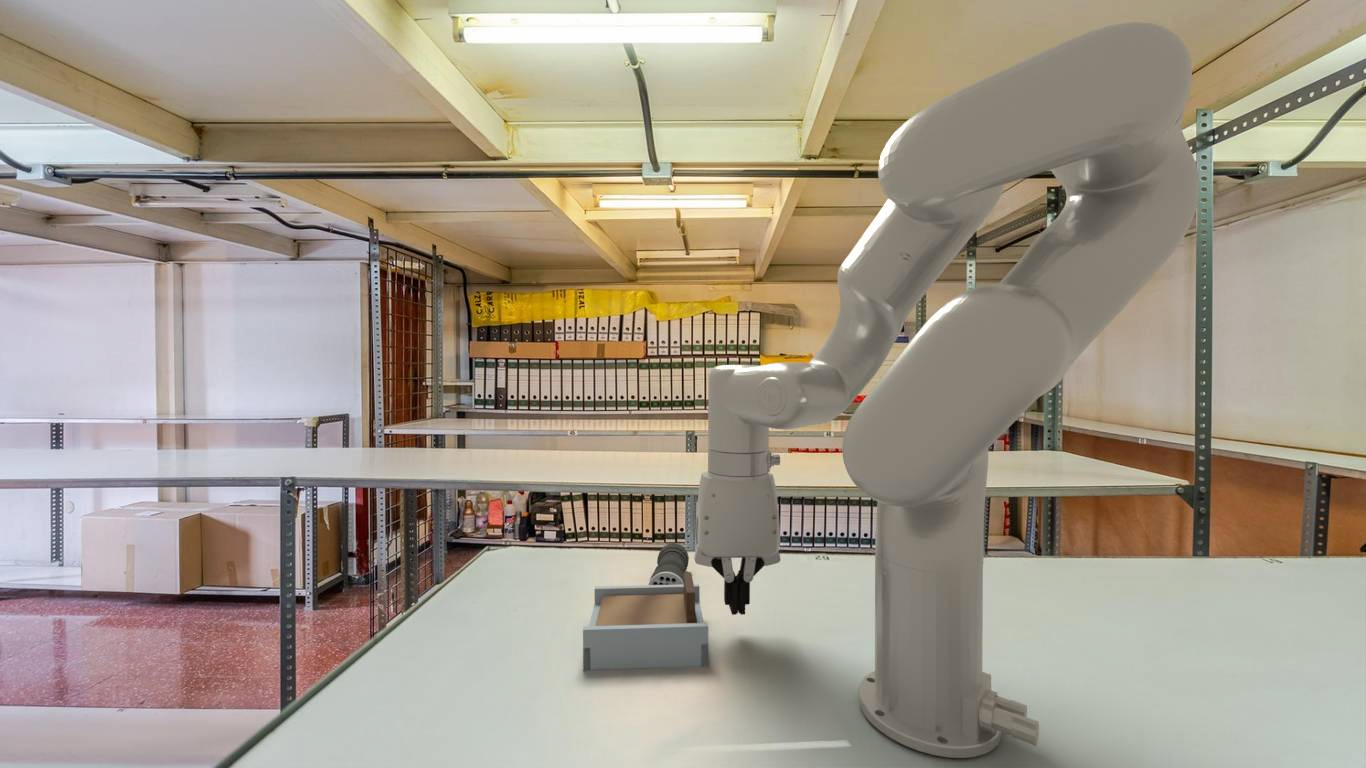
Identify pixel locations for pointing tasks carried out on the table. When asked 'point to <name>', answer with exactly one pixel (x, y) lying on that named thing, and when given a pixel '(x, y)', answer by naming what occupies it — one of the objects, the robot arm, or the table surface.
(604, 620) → the cover plate
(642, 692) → the table surface
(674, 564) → the flashlight
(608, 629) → the light grey open box
